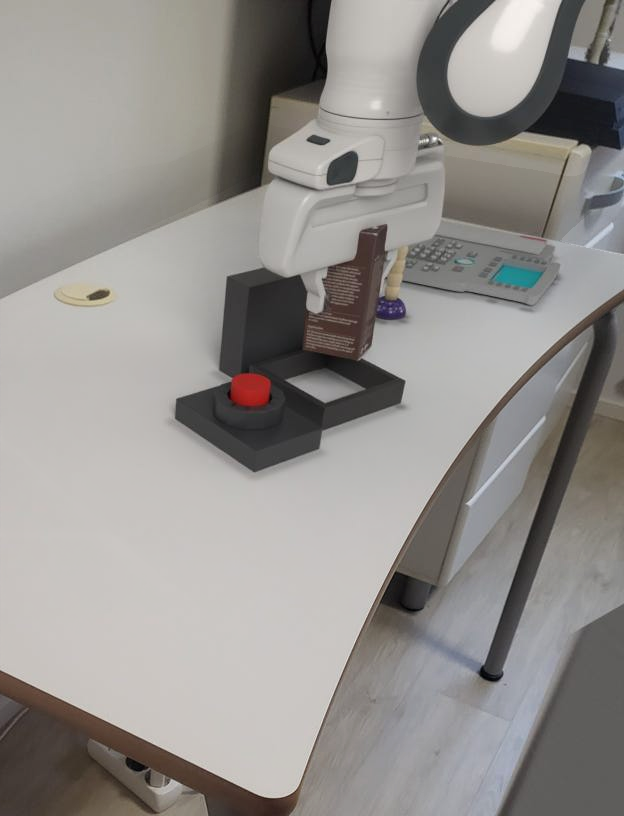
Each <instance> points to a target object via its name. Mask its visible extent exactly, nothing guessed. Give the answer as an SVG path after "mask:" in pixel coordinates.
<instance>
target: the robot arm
mask: <svg viewBox="0 0 624 816" xmlns="http://www.w3.org/2000/svg"><path fill="white" fill-rule="evenodd" d="M586 1H587V0H331V1H330V8H329V16H328V23H327V29H326V39H325V53H326V58H327V60H326V61H327V72H326V79H325V83H324V87H323V90H322V92H321V95H320V98H319V104H318V114H317V117H315V118H313V119H311V120H310V121H309V122H308V123H306V124H305V125H304V126H303V127H301V128H300V129H298V131H296V132H294V133H293V134H291V135H289V136H288V137H287V138H285V139H283V140H281V141H280V142H278V143H277V144H275V145H274V146H273V147H272V148H270V150H269V153H268V157H267V169H268V172H269V173H271V174H272V175H275V176H276V177H275V178H273V180H272V181H271V182H270V183H269V184H268V186H267V187H266V188H267V189H266V190H265V193H264V197H263V201H262V206H261V212H260V218H259V219H260V220H259V229H258V239H257V257H258V260H259V261H260V264H261V265H262V268H265V269H267V270H269V271H271V272H273V273H275V274H277V275H280V276H282V277H286V278H288V277H292V276H296V275H301V278H302V280H303V283H304V285H305V288H306V290H307V291H308V293H307V302H306V307H307V309H308V311H311V312H313V313H315V314H318V313H321V312H324V311H328V310H329V309H330V301H331V298H332V293H330V292H328V291H325V289H324V286H323V282H322V278H326V277H327V270H328V267H329V266H333V265H337V264H341V263H344V262H348V261H352V260H354V258H355V255H356V253H357V245H358V239H359V232H360V231H361V230H363V229H367V228H371V227H376V226H380V225H385V224H387V226H388V228H387V236H386V242H385V251H386V253H385V259H384V265H383V273H382V279H381V286H380V293H379V296H381V295H382V294H383V290H384V284H385V279H387V277H386V276H387V275H388V273H389V271H390V269H391V268H392V266H393V264H394V263H395V261H396V259H397V255H398V249H399V248H400V247H404V246H408V245H412V244H415V243H419V242H423V241H427V240H430V239H432V238H433V236H434V235H435V233H436V232H437V230H438V228H439V226H440V223H441V220H442V216H443V210H444V200H445V192H446V176H447V175H446V166H445V163H444V162H445V157H446V153H447V152H446V151H447V148H446V144H444V141H443V139H442V138H441V136H439V134H438V133H437V132H426V133H424V134H422V128H423V122H424V115H425V117H426V119H427V120H428V122H429V123H430V124H431V125H432V126H433V127H434V128H435V130H436V131H438V132H439V133H440V134H441V135H443V136H444V137H446V138H447V139H449V140H451V141H453V142H456V143H459V144H462V145H467V146H475V147H482V146H483V147H485V146H486V147H487V146H492V145H496V144H500V143H504V142H506V141H508V140H511V139H513V138H515V137H517V136H518V135H520V134H522V133H524V131H526V130H527V129H529V128H530V127H531V126H532V125H534V123H536V122H537V121H538V119H540V117H542V115H543V114H544V113H545V112H546V110H547V109H548V108H549V106H550V105H551V103H552V102H553V100H554V98H555V96H556V95H557V92H558V90H559V88H560V85H561V83H562V80H563V77H564V74H565V70H566V66H567V63H568V57H569V52H570V48H571V44H572V40H573V35H574V32H575V28H576V23H577V21H578V19H579V15H580V13H581V11H582V9H583V6H584V5H585V3H586Z"/></svg>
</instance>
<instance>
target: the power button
mask: <svg viewBox="0 0 624 816" xmlns="http://www.w3.org/2000/svg"><path fill="white" fill-rule="evenodd" d="M231 381H232V383H231V394H230V399H231V400H232V401H233V402H235V403H237V404H242V405H246V406H261V405H264V404H267V403H268V402H269V395H270V387H271V382H270V380H269V379H268V378H266V377H264V376H262V375H258V374H251V373H246V374H240V375H237V376H235V377H234V378H231Z"/></svg>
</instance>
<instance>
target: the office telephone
mask: <svg viewBox="0 0 624 816" xmlns="http://www.w3.org/2000/svg"><path fill="white" fill-rule="evenodd" d="M548 241H549V240H548V239H544V238H539V237H538V238H537V237H533V236H528V235H522V234H516V233H512V232H511V233H510V232H505V231H500V230H494V229H488V228H485V227H478V226H473V225H467V224H462V223H457V222H451V221H445V220H442V219H441V223H440V226H439V228H438V230H437V232H436V233H435V235H434V236H433V238H432V239H430V240H427V241H423V242H419V243H415V244H412V245H408V252H407V255H406V257H405V268H404V270H403V272H402V275H403V278H402V281H404V282H409V283H413V284H419V285H424V286H428V287H432V288H433V287H434V288H438V289H443V290H447V291H454V292H461V293H462V292H463V293H464V292H469V293H476V294H480V295H486V296H491V297H494V298H495V297H496V298H500V299H505V300H510V301H514V302H518V303H522V304H525V305H530V306H534V305H536V304H537V302H539V300H540V299H541V298H542V297H543V295H544V294H545V293H546V291H547V290H548V289H549V287H550V286H552V283H553V282H554V281H555V279H556V278H557V276H558V274H559V272H560V268H561V263H559V262H553V261H551V259H552V258H553V257H554V254H555V251H556V246H555V245H551V244H548ZM389 272H390V271H389ZM388 274H389V273H388ZM387 276H388V275H387ZM387 276H386V278H387Z"/></svg>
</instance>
